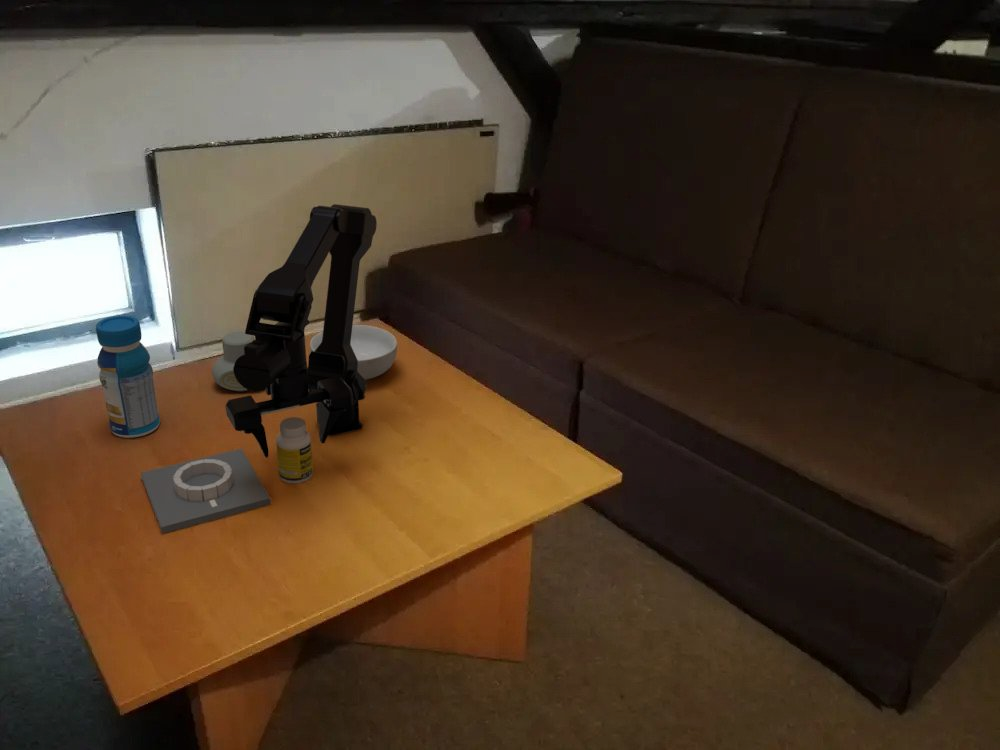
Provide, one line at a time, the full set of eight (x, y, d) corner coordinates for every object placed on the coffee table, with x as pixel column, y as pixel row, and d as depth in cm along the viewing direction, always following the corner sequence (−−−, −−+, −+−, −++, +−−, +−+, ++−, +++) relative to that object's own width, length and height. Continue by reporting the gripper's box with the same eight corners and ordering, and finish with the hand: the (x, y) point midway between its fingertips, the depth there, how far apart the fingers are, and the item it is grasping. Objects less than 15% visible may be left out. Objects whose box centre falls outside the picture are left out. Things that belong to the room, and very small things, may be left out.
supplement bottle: (305, 487, 138) (301, 434, 134) (273, 482, 139) (268, 429, 135) (318, 468, 143) (315, 417, 138) (287, 464, 144) (283, 412, 139)
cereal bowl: (314, 396, 165) (312, 363, 162) (309, 358, 179) (307, 327, 176) (403, 389, 169) (402, 356, 166) (391, 352, 183) (390, 321, 180)
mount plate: (242, 454, 146) (240, 438, 144) (270, 504, 134) (269, 487, 132) (141, 478, 138) (138, 461, 137) (162, 533, 126) (159, 515, 125)
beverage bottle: (153, 439, 149) (135, 333, 140) (102, 439, 148) (81, 332, 139) (167, 415, 156) (151, 312, 147) (118, 415, 156) (99, 312, 147)
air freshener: (274, 373, 173) (270, 327, 168) (270, 393, 165) (265, 345, 161) (217, 375, 171) (211, 328, 166) (210, 395, 164) (204, 347, 159)
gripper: (327, 331, 142) (332, 413, 149) (211, 352, 134) (222, 439, 141) (352, 358, 134) (356, 444, 141) (230, 382, 125) (241, 473, 132)
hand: (294, 449), depth 139 cm, fingers open, 9 cm apart
